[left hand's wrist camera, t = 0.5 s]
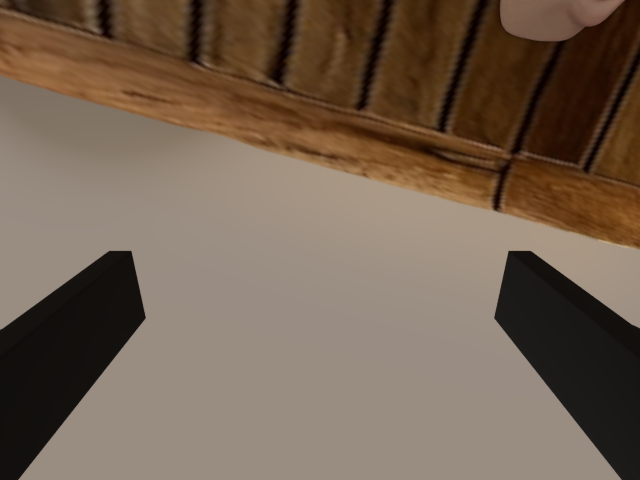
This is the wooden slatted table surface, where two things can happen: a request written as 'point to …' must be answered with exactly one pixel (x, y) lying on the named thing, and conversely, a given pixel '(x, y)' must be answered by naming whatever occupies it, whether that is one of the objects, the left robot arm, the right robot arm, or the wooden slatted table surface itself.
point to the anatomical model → (553, 17)
